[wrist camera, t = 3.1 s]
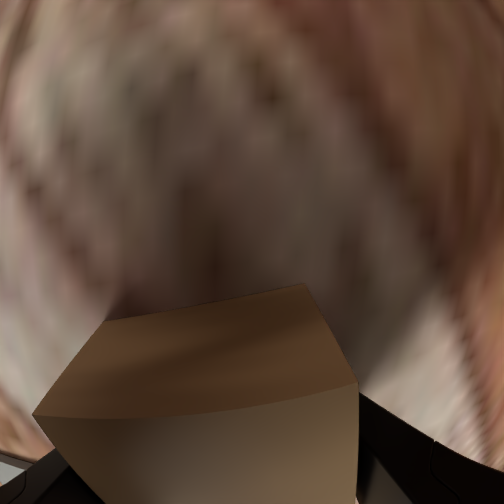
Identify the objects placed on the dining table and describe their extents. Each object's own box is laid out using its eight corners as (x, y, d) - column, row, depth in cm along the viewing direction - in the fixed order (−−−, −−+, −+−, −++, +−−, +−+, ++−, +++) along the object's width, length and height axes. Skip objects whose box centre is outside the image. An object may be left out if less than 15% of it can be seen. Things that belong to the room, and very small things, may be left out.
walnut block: (304, 283, 8) (358, 382, 4) (324, 429, 9) (352, 525, 5) (103, 321, 8) (31, 414, 4) (169, 451, 9) (150, 542, 5)
